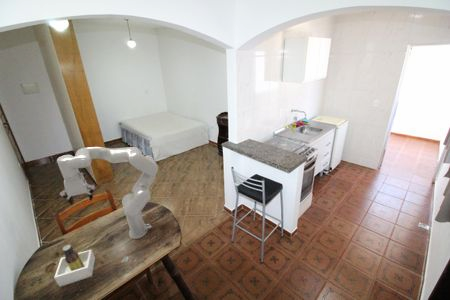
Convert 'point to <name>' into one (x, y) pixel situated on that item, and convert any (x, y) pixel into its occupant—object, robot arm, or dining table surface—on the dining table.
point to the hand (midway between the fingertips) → (82, 201)
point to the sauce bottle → (72, 258)
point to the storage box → (68, 276)
